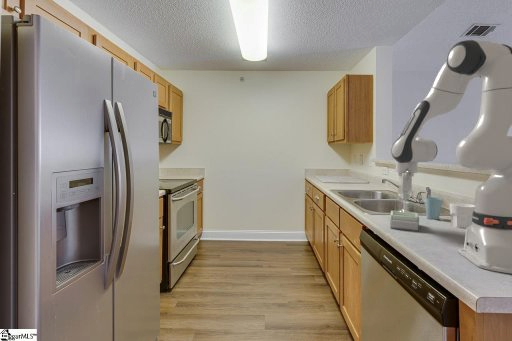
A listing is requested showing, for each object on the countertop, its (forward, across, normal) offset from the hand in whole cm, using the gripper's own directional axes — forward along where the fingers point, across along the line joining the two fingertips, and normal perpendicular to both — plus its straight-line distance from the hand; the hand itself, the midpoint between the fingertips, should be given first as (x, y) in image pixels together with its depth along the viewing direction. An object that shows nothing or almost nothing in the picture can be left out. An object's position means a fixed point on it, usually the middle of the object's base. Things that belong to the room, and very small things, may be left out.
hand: (404, 198), depth 138 cm
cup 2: (+13, +11, -25) cm, 30 cm away
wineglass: (+6, 0, 0) cm, 6 cm away
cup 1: (+13, +24, -15) cm, 31 cm away
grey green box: (+12, 0, 0) cm, 12 cm away
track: (+12, +3, 0) cm, 13 cm away
